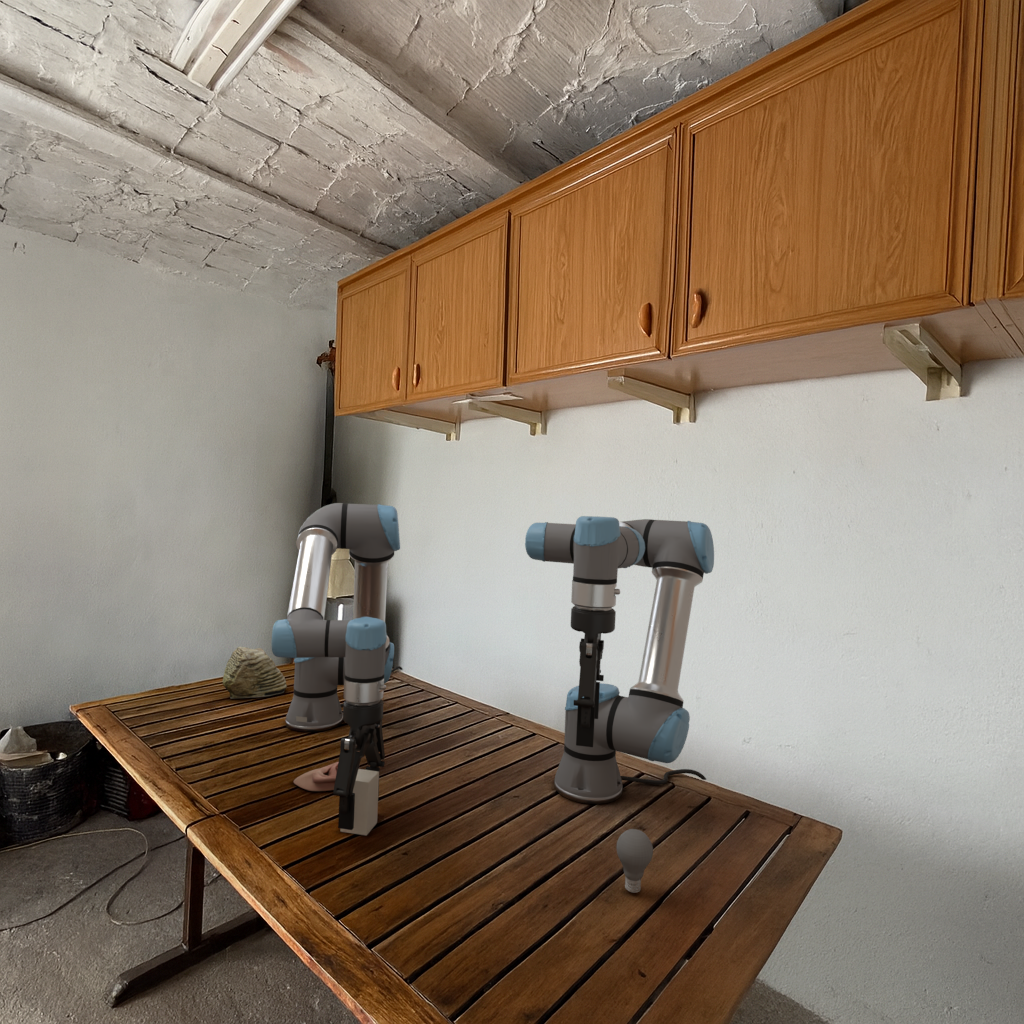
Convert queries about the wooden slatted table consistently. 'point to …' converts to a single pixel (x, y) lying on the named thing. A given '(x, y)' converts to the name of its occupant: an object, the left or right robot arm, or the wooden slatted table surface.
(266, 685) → the fossil
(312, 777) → the anatomical model
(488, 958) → the wooden slatted table surface
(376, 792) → the block
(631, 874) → the light bulb
